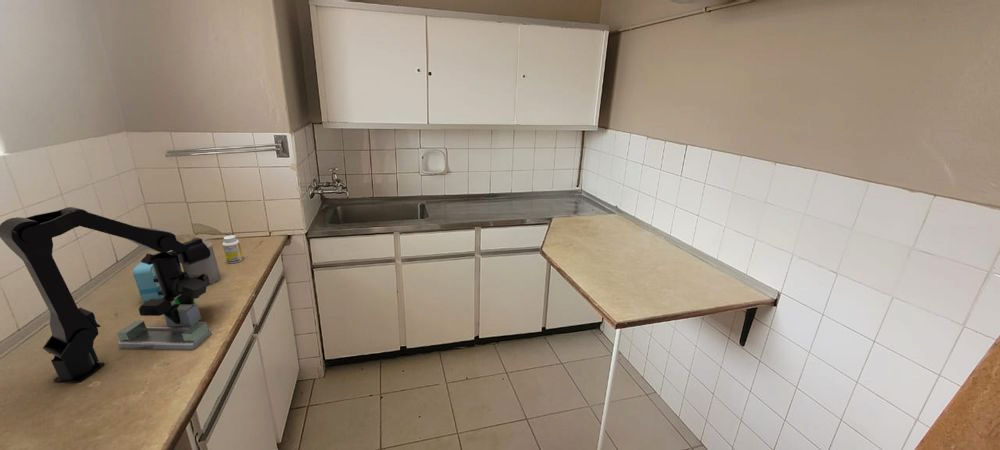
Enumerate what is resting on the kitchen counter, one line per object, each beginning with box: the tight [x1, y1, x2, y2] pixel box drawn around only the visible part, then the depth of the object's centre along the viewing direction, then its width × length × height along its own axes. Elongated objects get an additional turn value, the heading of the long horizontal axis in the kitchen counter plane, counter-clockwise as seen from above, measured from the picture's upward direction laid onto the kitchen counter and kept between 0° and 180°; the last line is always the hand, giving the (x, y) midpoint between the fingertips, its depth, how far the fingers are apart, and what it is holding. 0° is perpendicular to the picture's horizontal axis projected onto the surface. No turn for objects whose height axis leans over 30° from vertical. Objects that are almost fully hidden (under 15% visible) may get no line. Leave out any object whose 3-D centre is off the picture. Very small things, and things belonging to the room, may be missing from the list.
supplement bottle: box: [222, 234, 244, 264], centre depth 156 cm, size 6×6×10 cm
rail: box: [116, 320, 213, 351], centre depth 109 cm, size 7×20×4 cm, turn 89°
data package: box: [132, 261, 164, 303], centre depth 131 cm, size 12×4×12 cm, turn 21°
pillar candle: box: [181, 240, 221, 286], centre depth 139 cm, size 10×10×15 cm
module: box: [163, 303, 202, 327], centre depth 117 cm, size 4×7×5 cm, turn 89°
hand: (183, 319), depth 118 cm, fingers closed on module, 4 cm apart
